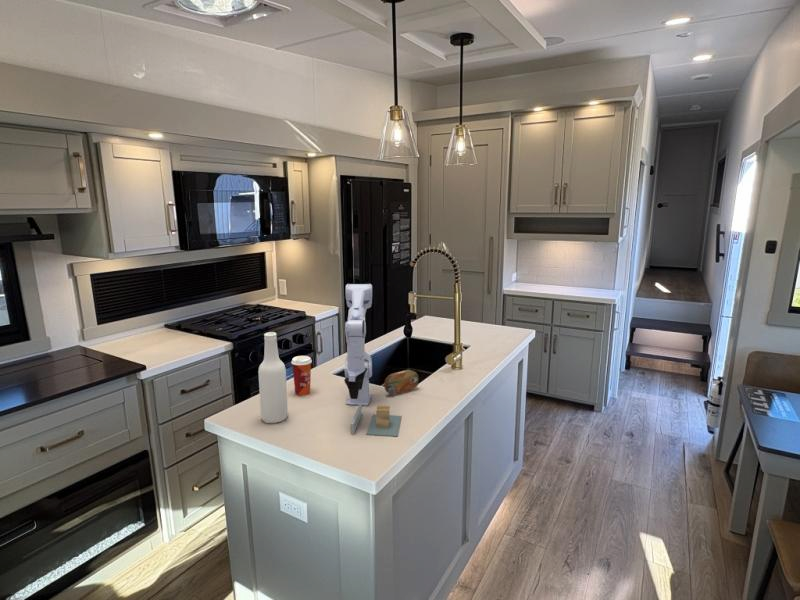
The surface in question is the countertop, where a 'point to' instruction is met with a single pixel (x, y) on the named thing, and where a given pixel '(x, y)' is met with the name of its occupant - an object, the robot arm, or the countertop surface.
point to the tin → (401, 382)
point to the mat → (383, 431)
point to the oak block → (382, 416)
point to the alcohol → (272, 383)
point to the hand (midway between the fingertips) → (356, 393)
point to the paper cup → (302, 374)
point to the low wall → (356, 419)
